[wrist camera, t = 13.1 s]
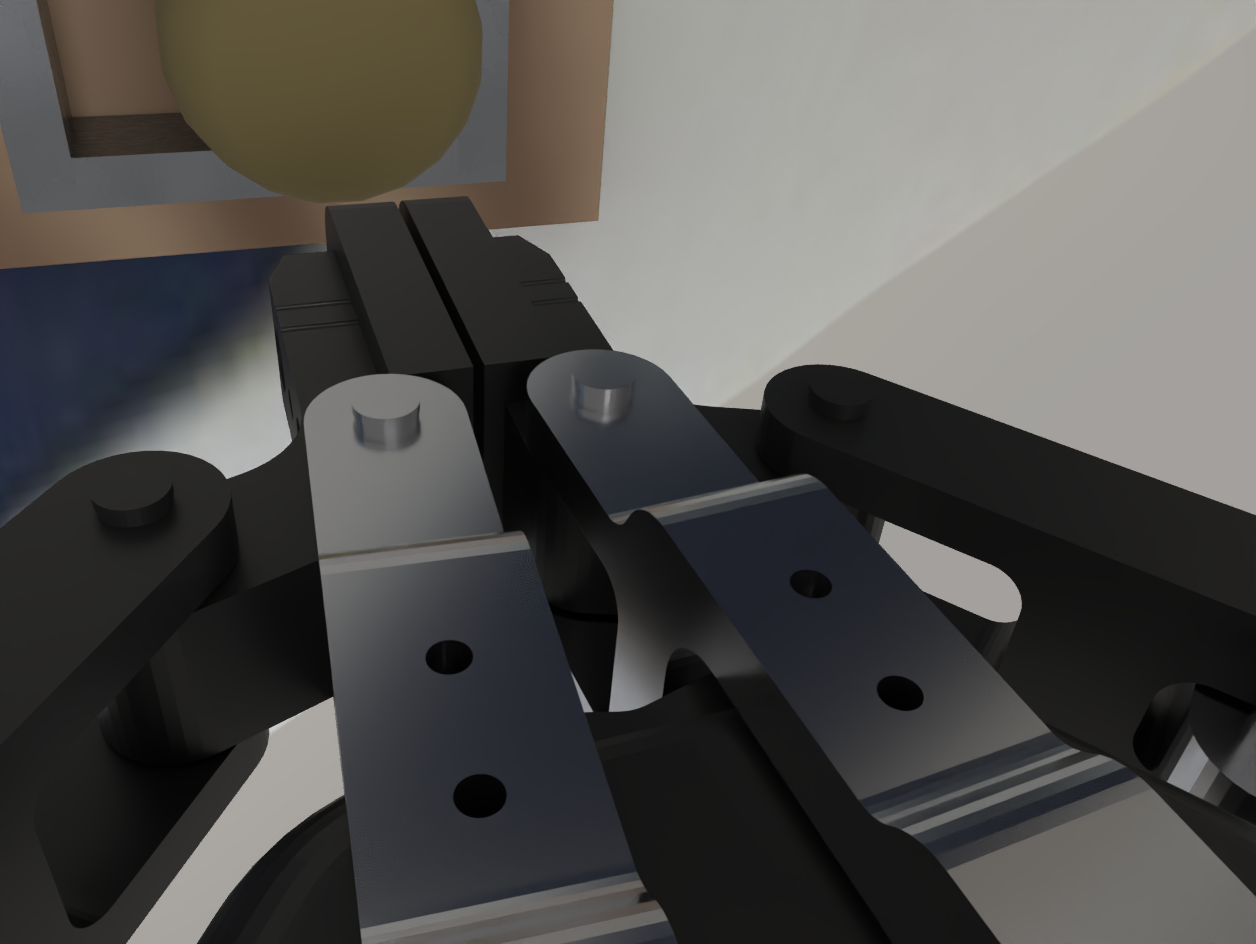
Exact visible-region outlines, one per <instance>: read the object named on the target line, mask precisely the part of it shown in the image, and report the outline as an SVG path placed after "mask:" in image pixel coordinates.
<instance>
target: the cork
mask: <svg viewBox="0 0 1256 944" xmlns="http://www.w3.org/2000/svg"><path fill="white" fill-rule="evenodd" d="M155 17H156V26H157V34H158V41H159V49H160V57H161V65H162V72H163V75H164V78H165V80H166V82H167V84H168V86H169V88H170V90H171V92H172V94H173V97H174V99H175V101H176V103H177V105H178V107H179V109H180V111H181V113H182V115H183V118H184V120H185V122H186V123H187V124H188V125H189V126H190V127H191V128H192V129H193V130H194V131H195V133H196V134H197V135H198V136H199V137H200V138H201V139H202V140H203V141H204V142H205V143H206V144H207V146H208V147H209V148H210V149H211V150H212V151H213V152H214V153H215V154H216V155H217V156H218V158H219V159H220V160H221V161H223V162H224V163H225V164H226V165H227V166H228V167H230V168H231V169H233V170H235V171H236V172H238V173H240V174H242V175H243V176H245V177H247V178H248V179H250V180H252V181H253V182H255V183H257V184H258V185H260V186H262V187H263V188H265V189H267V190H269V191H270V192H274V193H278V194H282V195H286V196H290V197H294V198H298V199H302V200H306V201H310V202H314V203H331V202H355V201H364V200H367V199H370V198H372V197H375V196H378V195H381V194H384V193H387V192H390V191H393V190H396V189H398V188H401V187H404V186H405V185H407V184H408V183H410V182H411V181H412V180H414V179H415V178H416V177H418V176H419V175H420V174H422V173H423V172H425V171H426V170H427V169H429V168H430V167H431V166H433V165H434V164H435V163H437V162H438V161H440V159H441V158H442V157H443V155H444V154H445V153H446V151H447V150H448V149H449V147H450V146H451V144H452V143H453V142H454V140H455V139H456V138H457V136H458V135H459V134H460V132H461V131H462V130H463V128H464V127H465V126H466V124H467V121H468V118H469V115H470V112H471V109H472V107H473V104H474V101H475V98H476V95H477V92H478V89H479V86H480V84H481V70H482V40H483V32H482V22H481V18H480V15H479V11H478V7H477V4H476V0H157V2H156V7H155Z"/></svg>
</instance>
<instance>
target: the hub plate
mask: <svg viewBox="0 0 1256 944" xmlns="http://www.w3.org/2000/svg"><path fill="white" fill-rule="evenodd" d="M47 2H48V7H49V11H50V16H51V21H52V25H53V30H54V35H55V39H56V44H57V49H58V53H59V58H60V63H61V67H62V72H63V77H64V81H65V86H66V91H67V96H68V100H69V105H70V110H71V114H72V117H87V116H110V115H133V114H156V113H180V112H181V111H180V109H179V107H178V105H177V103H176V101H175V99H174V97H173V94H172V92H171V90H170V88H169V86H168V84H167V82H166V80H165V78H164V75H163V72H162V65H161V57H160V49H159V41H158V34H157V26H156V17H155V7H156V2H157V0H47ZM613 2H614V0H509V31H508V87H507V144H506V181H500V182H485V183H470V184H456V185H441V186H426V187H411V188H398V189H396V190H393V191H390V192H387V193H384V194H381V195H378V196H375V197H372V198H370V199H367V200H364V201H355V202H331V203H314V202H310V201H306V200H302V199H298V198H294V197H290V196H277V197H263V198H248V199H233V200H218V201H203V202H188V203H173V204H159V205H144V206H129V207H114V208H99V209H84V210H69V211H55V212H40V213H25V214H23V212H22V208H21V204H20V200H19V196H18V192H17V188H16V184H15V180H14V176H13V172H12V168H11V165H10V161H9V157H8V153H7V149H6V145H5V141H4V137H3V133H2V129H1V125H0V269H6V268H19V267H31V266H43V265H56V264H68V263H81V262H93V261H105V260H118V259H130V258H142V257H155V256H167V255H179V254H192V253H204V252H216V251H229V250H241V249H253V248H266V247H278V246H291V245H303V244H315V243H326V231H325V208H326V206H336V205H350V204H364V203H378V202H392V201H394V202H395V203H396V205H397V207H398V209H399V204H400V202H401V201H404V200H418V199H432V198H446V197H460V196H467V197H469V199H470V200H471V202H472V203H473V205H474V207H475V208H476V210H477V212H478V213H479V215H480V217H481V219H482V220H483V222H484V224H485V225H486V227H487V229H500V228H513V227H525V226H538V225H550V224H562V223H575V222H587V221H598V216H599V201H600V187H601V173H602V159H603V144H604V130H605V116H606V102H607V87H608V73H609V59H610V44H611V30H612V16H613Z"/></svg>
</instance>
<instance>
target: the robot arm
mask: <svg viewBox="0 0 1256 944" xmlns="http://www.w3.org/2000/svg"><path fill="white" fill-rule="evenodd" d="M325 231H326V244H327V252H316V253H304V254H292V255H283V257H282V258H281V260H280V262H279V263H278V265H277V267H276V268H275V270H274V272H273V273H272V275H271V277H270V278H269V288H270V296H271V305H272V313H273V322H274V330H275V338H276V347H277V355H278V363H279V372H280V380H281V389H282V397H283V403H284V407H285V412H286V416H287V420H288V425H289V429H290V433H291V438H292V442H291V444H290V445H289V446H288V447H287V448H286V449H285V450H284V451H283V452H281V453H280V454H279V455H277V456H276V457H275V458H273V459H272V460H270V461H268V462H267V463H265V464H263V465H261V466H259V467H257V468H255V469H252V470H250V471H248V472H245V473H243V474H240V475H237V476H234V477H232V478H229V479H226V478H225V477H224V475H223V474H222V473H221V471H219V470H218V469H217V468H216V467H214V466H213V465H212V464H210V463H208V462H206V461H204V460H202V459H200V458H197V457H194V456H191V455H187V454H183V453H178V452H169V451H140V452H130V453H125V454H120V455H115V456H111V457H108V458H104V459H101V460H97V461H95V462H93V463H90V464H88V465H85V466H83V467H81V468H79V469H77V470H75V471H73V472H72V473H70V474H68V475H67V476H65V477H64V478H63V479H61V480H60V481H58V482H57V483H56V484H54V485H53V486H52V487H51V488H50V489H48V490H47V491H46V492H45V493H43V494H42V495H41V496H40V497H38V498H37V499H36V500H35V501H34V502H32V503H31V504H30V505H29V506H27V507H26V508H25V509H24V510H22V511H21V512H20V513H19V514H18V515H16V516H15V517H14V518H13V519H11V520H10V521H9V522H8V523H6V524H5V525H4V526H3V527H1V528H0V944H126V943H127V941H128V940H129V939H130V938H131V936H132V935H133V933H134V932H135V931H136V929H137V928H138V927H139V925H140V924H141V923H142V921H143V920H144V919H145V917H146V916H147V914H148V913H149V912H150V910H151V909H152V908H153V906H154V905H155V904H156V902H157V901H158V899H159V898H160V897H161V895H162V894H163V893H164V891H165V890H166V889H167V887H168V886H169V884H170V883H171V882H172V880H173V879H174V878H175V876H176V875H177V874H178V872H179V871H180V870H181V868H182V867H183V865H184V864H185V863H186V861H187V860H188V859H189V857H190V856H191V855H192V853H193V852H194V851H195V849H196V848H197V847H198V845H199V844H200V842H201V841H202V839H203V838H204V837H205V836H206V834H207V833H208V832H209V830H210V829H211V828H212V826H213V825H214V823H215V822H216V820H217V819H218V818H219V817H220V815H221V814H222V813H223V811H224V810H225V808H226V807H227V806H228V804H229V803H230V802H231V800H232V799H233V798H234V796H235V795H236V794H237V792H238V791H239V789H240V788H241V787H242V785H243V784H244V783H245V781H246V780H247V779H248V777H249V776H250V775H251V773H252V772H253V771H254V769H255V768H256V766H257V765H258V763H259V762H260V760H261V758H262V757H263V755H264V752H265V750H266V747H267V745H268V738H269V728H271V727H273V726H275V725H277V724H279V723H281V722H283V721H285V720H287V719H289V718H291V717H293V716H295V715H297V714H299V713H301V712H303V711H305V710H307V709H309V708H311V707H313V706H315V705H317V704H319V703H321V702H323V701H325V700H327V699H329V698H331V697H333V698H334V707H335V716H336V725H337V734H338V744H339V753H340V761H341V771H342V780H343V788H344V795H343V796H341V797H339V798H338V799H336V800H335V801H333V802H331V803H330V804H328V805H326V806H325V807H323V808H322V809H320V810H318V811H317V812H315V813H313V814H312V815H311V816H309V817H308V818H307V819H305V820H304V821H303V822H301V823H300V824H299V825H298V826H297V827H295V828H294V829H292V830H291V831H290V832H288V833H287V834H286V835H285V836H284V837H283V838H282V839H281V840H279V841H278V842H277V843H276V844H275V845H274V846H273V847H272V848H271V849H270V850H269V851H268V852H267V853H266V854H265V855H264V856H263V857H262V858H261V859H260V860H259V861H258V862H257V863H256V864H255V865H254V866H253V867H252V868H251V869H250V870H249V872H248V873H247V874H246V875H245V876H244V877H243V879H242V880H241V881H240V882H239V883H238V885H237V886H236V887H235V888H234V889H233V891H232V892H231V893H230V894H229V896H228V897H227V899H226V900H225V902H224V903H223V904H222V906H221V907H220V909H219V910H218V912H217V913H216V915H215V916H214V918H213V919H212V921H211V922H210V924H209V926H208V927H207V929H206V931H205V932H204V934H203V935H202V937H201V938H200V940H199V941H198V943H197V944H1256V515H1253V514H1251V513H1248V512H1245V511H1243V510H1240V509H1237V508H1234V507H1231V506H1229V505H1226V504H1223V503H1220V502H1218V501H1215V500H1212V499H1210V498H1207V497H1204V496H1202V495H1199V494H1196V493H1193V492H1190V491H1188V490H1185V489H1182V488H1179V487H1177V486H1174V485H1171V484H1168V483H1166V482H1163V481H1160V480H1157V479H1155V478H1152V477H1149V476H1147V475H1144V474H1141V473H1139V472H1136V471H1133V470H1130V469H1127V468H1125V467H1122V466H1119V465H1116V464H1114V463H1111V462H1108V461H1106V460H1103V459H1100V458H1098V457H1095V456H1092V455H1089V454H1087V453H1084V452H1081V451H1078V450H1075V449H1073V448H1070V447H1067V446H1065V445H1062V444H1059V443H1056V442H1054V441H1051V440H1048V439H1046V438H1043V437H1040V436H1037V435H1034V434H1032V433H1029V432H1026V431H1023V430H1021V429H1018V428H1015V427H1013V426H1010V425H1007V424H1005V423H1002V422H999V421H996V420H994V419H991V418H988V417H985V416H983V415H980V414H977V413H974V412H972V411H969V410H966V409H963V408H961V407H958V406H955V405H953V404H950V403H947V402H944V401H942V400H939V399H936V398H933V397H931V396H928V395H925V394H922V393H920V392H917V391H914V390H911V389H909V388H906V387H903V386H901V385H898V384H895V383H892V382H890V381H887V380H884V379H881V378H879V377H876V376H873V375H870V374H868V373H865V372H862V371H858V370H855V369H851V368H846V367H841V366H834V365H818V364H817V365H804V366H798V367H794V368H791V369H787V370H785V371H783V372H781V373H779V374H777V375H776V376H774V377H773V378H772V379H771V380H770V381H769V382H768V384H767V386H766V388H765V391H764V397H763V402H762V407H761V410H753V409H739V408H724V407H710V406H700V405H694V404H693V403H692V402H691V401H690V400H689V399H688V398H687V396H686V395H685V394H684V393H683V392H682V391H681V389H680V388H679V387H678V386H677V385H676V383H675V382H674V381H673V380H672V379H671V378H670V376H669V375H667V374H666V373H665V372H664V371H663V370H662V369H661V368H659V367H658V366H656V365H655V364H653V363H651V362H649V361H647V360H645V359H643V358H640V357H637V356H635V355H631V354H627V353H623V352H618V351H613V349H612V348H611V346H610V345H609V343H608V342H607V340H606V339H605V337H604V336H603V334H602V333H601V331H600V330H599V328H598V327H597V325H596V324H595V322H594V321H593V319H592V318H591V316H590V315H589V313H588V312H587V310H586V309H585V307H584V306H583V304H582V303H581V302H578V297H577V295H576V294H575V292H574V290H573V289H572V287H571V286H570V284H569V283H568V282H567V283H566V282H565V277H564V275H563V274H562V272H561V271H560V269H559V268H558V266H557V265H556V263H555V262H554V260H553V259H552V257H551V256H550V254H548V253H546V252H545V251H543V250H541V249H540V248H538V247H537V246H535V245H533V244H532V243H530V242H528V241H527V240H525V239H523V238H522V237H520V236H518V235H517V236H505V237H492V235H491V234H490V232H489V230H488V229H487V227H486V225H485V224H484V222H483V220H482V219H481V217H480V215H479V213H478V212H477V210H476V208H475V207H474V205H473V203H472V202H471V200H470V199H469V197H467V196H460V197H446V198H432V199H418V200H404V201H401V202H400V204H399V209H398V207H397V205H396V203H395V202H394V201H392V202H378V203H364V204H350V205H336V206H326V208H325ZM885 521H887V522H890V523H892V524H895V525H897V526H899V527H902V528H904V529H907V530H909V531H911V532H914V533H916V534H919V535H921V536H924V537H926V538H928V539H931V540H933V541H936V542H938V543H940V544H943V545H945V546H948V547H950V548H952V549H955V550H957V551H960V552H962V553H965V554H967V555H969V556H972V557H974V558H977V559H979V560H981V561H984V562H986V563H988V564H991V565H993V566H995V567H997V568H999V569H1000V570H1002V571H1003V572H1004V573H1006V574H1007V575H1008V576H1009V577H1010V578H1011V579H1012V581H1013V582H1014V583H1015V584H1016V586H1017V588H1018V590H1019V592H1020V595H1021V600H1022V609H1021V612H1020V615H1019V618H1018V620H1017V621H1014V622H1008V623H1002V622H995V621H991V620H988V619H985V618H983V617H981V616H978V615H976V614H974V613H972V612H969V611H967V610H965V609H962V608H960V607H958V606H956V605H953V604H951V603H948V602H946V601H944V600H942V599H939V598H937V597H935V596H932V595H930V594H928V593H926V592H923V591H922V590H921V589H920V588H919V587H918V586H917V585H916V584H915V583H914V581H912V579H911V578H910V577H909V576H908V575H907V574H906V573H905V572H904V571H903V570H902V568H901V567H900V566H899V565H898V564H897V563H896V562H895V561H894V560H893V559H892V558H891V557H890V555H889V554H888V553H887V552H886V551H885V550H884V549H883V548H882V547H881V546H880V544H879V540H880V536H881V533H882V529H883V526H884V522H885Z"/></svg>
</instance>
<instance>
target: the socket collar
mask: <svg viewBox="0 0 1256 944" xmlns="http://www.w3.org/2000/svg"><path fill="white" fill-rule="evenodd" d="M476 4H477V7H478V11H479V15H480V18H481V22H482V32H483V40H482V70H481V84H480V86H479V89H478V92H477V95H476V98H475V101H474V104H473V107H472V109H471V112H470V115H469V118H468V121H467V124H466V126H465V127H464V128H463V130H462V131H461V132H460V134H459V135H458V136H457V138H456V139H455V140H454V142H453V143H452V144H451V146H450V147H449V149H448V150H447V151H446V153H445V154H444V155H443V157H442V158H441V159H440V161H438V162H437V163H435V164H434V165H433V166H431V167H430V168H429V169H427V170H426V171H425V172H423V173H422V174H420V175H419V176H418V177H416V178H415V179H414V180H412V181H411V182H410V183H408V184H407V185H405V186H404V187H401V188H411V187H426V186H441V185H456V184H470V183H485V182H500V181H506V144H507V87H508V31H509V0H476ZM0 125H1V129H2V133H3V137H4V141H5V145H6V149H7V153H8V157H9V161H10V165H11V168H12V172H13V176H14V180H15V184H16V188H17V192H18V196H19V200H20V204H21V208H22V212H23V214H25V213H40V212H55V211H69V210H84V209H99V208H114V207H129V206H144V205H159V204H173V203H188V202H203V201H218V200H233V199H248V198H263V197H277V196H286V195H282V194H278V193H274V192H270V191H269V190H267V189H265V188H263V187H262V186H260V185H258V184H257V183H255V182H253V181H252V180H250V179H248V178H247V177H245V176H243V175H242V174H240V173H238V172H236V171H235V170H233V169H231V168H230V167H228V166H227V165H226V164H225V163H224V162H223V161H221V160H220V159H219V158H218V156H217V155H216V154H215V153H214V152H213V151H212V150H211V149H210V148H209V147H208V146H207V144H206V143H205V142H204V141H203V140H202V139H201V138H200V137H199V136H198V135H197V134H196V133H195V131H194V130H193V129H192V128H191V127H190V126H189V125H188V124H187V123H186V122H185V120H184V118H183V115H182V113H181V112H180V113H156V114H133V115H110V116H87V117H72V114H71V110H70V105H69V100H68V96H67V91H66V86H65V81H64V77H63V72H62V67H61V63H60V58H59V53H58V49H57V44H56V39H55V35H54V30H53V25H52V21H51V16H50V11H49V7H48V2H47V0H0Z"/></svg>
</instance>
